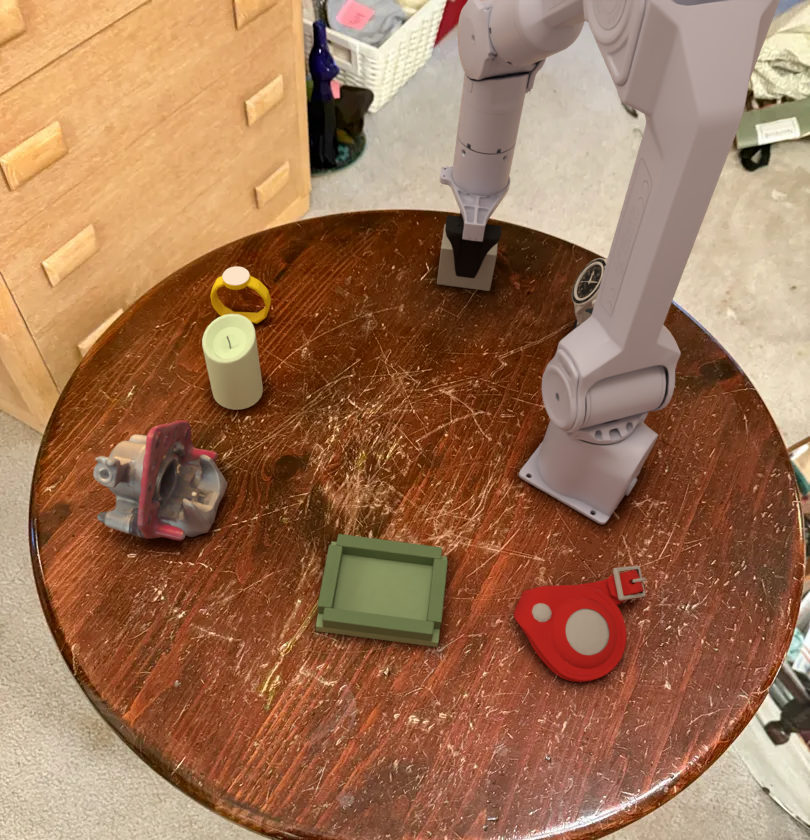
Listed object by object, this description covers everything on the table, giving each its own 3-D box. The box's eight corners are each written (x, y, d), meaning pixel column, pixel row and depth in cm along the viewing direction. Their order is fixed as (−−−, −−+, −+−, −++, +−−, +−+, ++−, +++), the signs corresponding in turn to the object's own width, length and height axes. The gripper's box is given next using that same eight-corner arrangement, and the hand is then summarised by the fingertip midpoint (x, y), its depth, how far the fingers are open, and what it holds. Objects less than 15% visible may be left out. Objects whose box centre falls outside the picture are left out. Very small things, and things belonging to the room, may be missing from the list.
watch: (555, 324, 89) (580, 242, 80) (628, 330, 90) (661, 249, 80) (558, 363, 87) (584, 282, 77) (633, 369, 87) (668, 289, 77)
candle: (242, 418, 80) (232, 360, 73) (202, 396, 81) (188, 336, 74) (273, 386, 82) (266, 327, 75) (233, 365, 84) (222, 304, 77)
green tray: (446, 561, 73) (449, 547, 71) (437, 647, 69) (440, 635, 67) (331, 546, 73) (331, 532, 71) (315, 631, 69) (314, 618, 67)
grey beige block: (491, 267, 93) (498, 230, 89) (489, 291, 91) (496, 255, 87) (440, 260, 94) (444, 223, 89) (436, 284, 91) (441, 248, 87)
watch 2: (274, 312, 88) (269, 268, 83) (270, 331, 86) (265, 287, 81) (218, 307, 88) (210, 262, 82) (213, 325, 86) (205, 282, 81)
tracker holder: (616, 700, 66) (509, 646, 66) (594, 701, 71) (493, 650, 70) (665, 569, 70) (563, 516, 69) (641, 578, 74) (545, 528, 73)
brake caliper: (224, 560, 69) (114, 479, 61) (142, 576, 75) (33, 504, 68) (263, 456, 75) (167, 369, 67) (184, 478, 81) (88, 401, 73)
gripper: (451, 87, 82) (438, 203, 93) (438, 178, 74) (425, 292, 86) (521, 96, 82) (499, 211, 93) (514, 188, 74) (491, 301, 86)
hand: (468, 251), depth 90 cm, fingers open, 7 cm apart
